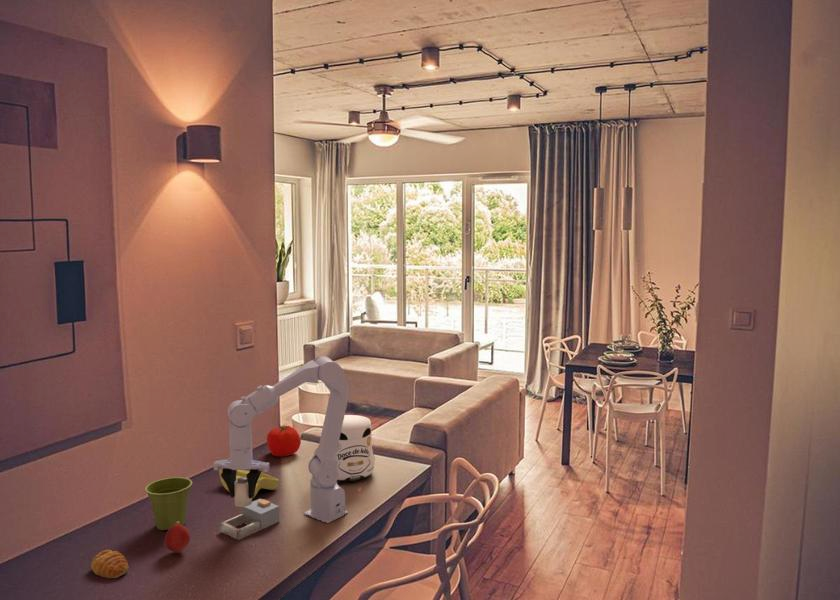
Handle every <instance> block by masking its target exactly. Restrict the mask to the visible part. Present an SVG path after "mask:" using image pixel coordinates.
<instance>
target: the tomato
mask: <svg viewBox="0 0 840 600" xmlns="http://www.w3.org/2000/svg"><path fill="white" fill-rule="evenodd" d="M278 426H279V427H275V428H272V429H271V430H270V431H269V433H268V434H267V436H266V445H267V448H268V449H269V452H270V453H271V454H272V456H274V457H288V456H291V455H294V454H296V453H297V452H298V450H299V449H300V447H301V443H302V439H301V437H300V434H299V433H298V431H297V429H296V428H294V427H292V426H291V425H280V424H278Z"/></svg>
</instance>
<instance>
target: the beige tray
mask: <svg viewBox="0 0 840 600" xmlns="http://www.w3.org/2000/svg"><path fill="white" fill-rule="evenodd" d="M242 523H247V524H249V525H247V524H246V525H245V526H243V527H240V528H237V527H238V525H239V526H241V525H243V524H242ZM219 524H220V526H219V527H220V533H221V534H224V533H225V534H224V535H226V534H227V535H226V536H228V535H229V537H230V536H231V537H230V538H232V537H233V538H232V539H234V538H235V540H236V539H237V541H241V540H243V539H244V538H243V537H245V536H247V535H249V534H251V533H253V532H255V531H257V530H260V529H261V521H260V520H257V519H255V518H253V517H251V516H248V515H246V514H244V513H243V512H242V513H240V514H238V515H236V516H234V517H230V518H229V519H227V520H224V521H222V522H220V523H219ZM240 524H241V525H240ZM236 526H237V527H236ZM260 531H261V530H260ZM251 535H252V534H251ZM249 536H250V535H249ZM247 537H248V536H247ZM242 538H243V539H242ZM245 538H246V537H245ZM240 539H241V540H240Z"/></svg>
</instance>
